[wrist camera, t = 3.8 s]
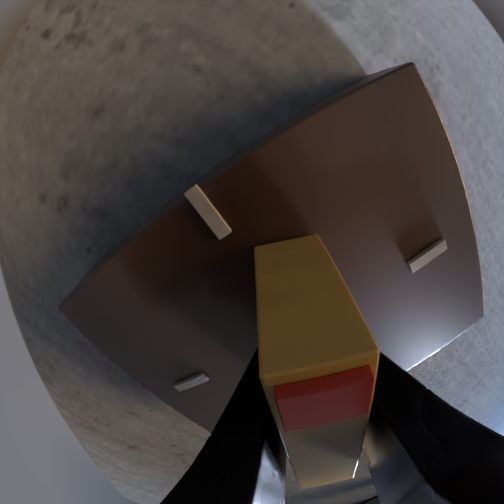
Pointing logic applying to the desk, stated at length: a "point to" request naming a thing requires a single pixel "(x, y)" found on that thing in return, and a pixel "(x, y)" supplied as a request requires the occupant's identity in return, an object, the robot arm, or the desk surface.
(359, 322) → the red-tabbed yellow block
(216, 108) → the desk surface
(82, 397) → the desk surface
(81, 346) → the desk surface
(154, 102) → the desk surface
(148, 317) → the block
